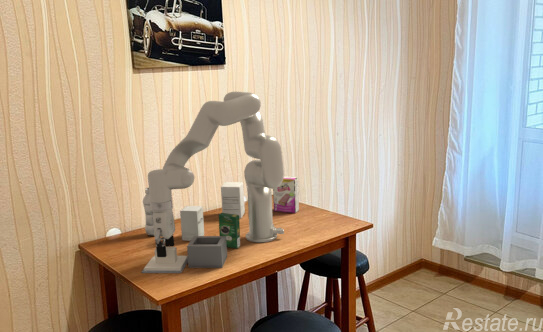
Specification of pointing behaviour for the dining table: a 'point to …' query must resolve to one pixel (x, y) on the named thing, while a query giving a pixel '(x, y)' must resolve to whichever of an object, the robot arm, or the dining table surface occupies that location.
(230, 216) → the coffee box
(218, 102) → the robot arm
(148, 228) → the plastic bottle
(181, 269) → the mat
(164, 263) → the lid
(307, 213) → the dining table surface
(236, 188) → the supplement box
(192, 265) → the storage box
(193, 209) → the supplement box
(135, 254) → the dining table surface
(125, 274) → the dining table surface
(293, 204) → the candy bar box
